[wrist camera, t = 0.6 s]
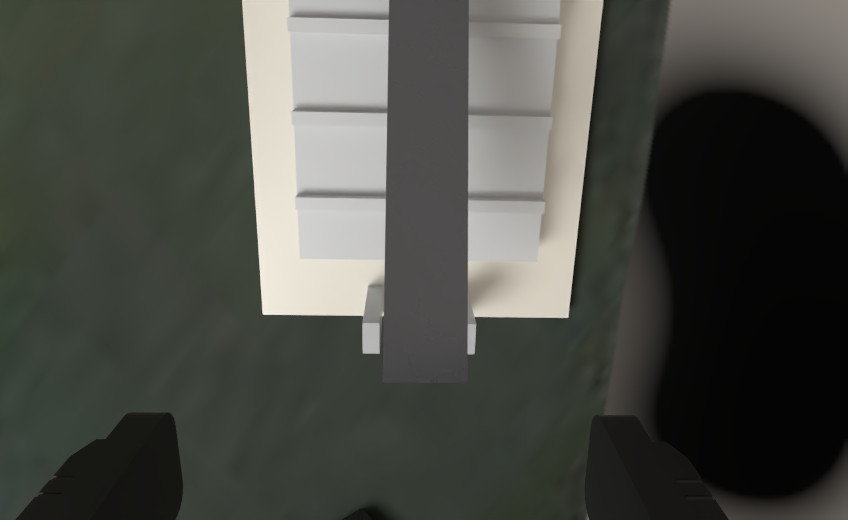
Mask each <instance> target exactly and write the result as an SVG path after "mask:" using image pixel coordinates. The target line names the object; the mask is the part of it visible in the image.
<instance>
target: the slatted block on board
mask: <svg viewBox="0 0 848 520" xmlns="http://www.w3.org/2000/svg"><path fill="white" fill-rule="evenodd" d="M242 5H243V21H244V36H245V51H246V66H247V81H248V97H249V112H250V127H251V142H252V157H253V173H254V188H255V203H256V218H257V233H258V249H259V264H260V279H261V294H262V309H263V315H350V316H364V317H363V353H379V352H380V340H381V327H382V316H384V278H385V217H386V156H387V96H388V35H389V0H242ZM602 8H603V0H469V89H468V354H474V353H475V336H476V322H475V318H474V317H538V318H568V315H569V306H570V297H571V288H572V279H573V270H574V261H575V252H576V243H577V234H578V225H579V216H580V207H581V198H582V189H583V180H584V171H585V162H586V153H587V144H588V135H589V126H590V117H591V107H592V98H593V89H594V80H595V71H596V62H597V53H598V44H599V35H600V26H601V17H602Z"/></svg>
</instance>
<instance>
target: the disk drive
mask: <svg viewBox="0 0 848 520" xmlns="http://www.w3.org/2000/svg"><path fill="white" fill-rule="evenodd" d="M343 520H372V519H371V517H370V516H369V515H368V514H366V512H365V511H364V510H362V509H359V510H358V511H356V512H355V513H353V514H351V515H349V516H348V517H347V518H345V519H343Z"/></svg>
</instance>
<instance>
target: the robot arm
mask: <svg viewBox="0 0 848 520" xmlns="http://www.w3.org/2000/svg"><path fill="white" fill-rule="evenodd" d="M182 494H183V480H182V472H181V464H180V456H179V449H178V441H177V433H176V425H175V421H174V418H173V416H172V414H170V413H128V414H126V415H125V416H124V417H123V418H122V420H121V421H120V422H119V423H118V425H117V426H116V427H115V428H114V430H113V431H112V432H111V433H110V434H109V436H108V437H107V438H106V439H96V440H95V441H93V442H91V443H90V444H88V445H87V446H85V447H84V448H82V449H81V450H79V451H78V452H76V453H75V454H73V455H72V456H70V457H69V458H68V460H67V461H66V462H65V463H64V464H63V465H62V466H61V468H60V469H59V470H58V471H57V472H56V473H55V475H54V476H53V480H49V482H48V483H47V484H46V485H45V486H44V487H43V488H42V490H41V491H40V492H39V496H38V497H35V498H34V499H33V500H32V501H31V502H30V503H29V505H28V506H27V507H26V508H25V509H24V510H23V512H22V513H21V514H20V515H19V516H18V517H17V519H16V520H175V519H176V517H177V515H178V512H179V509H180V506H181V501H182ZM585 501H586V508H587V513H588V517H589V520H728V518H727V517H726V515H725V514H724V512H723V511H722V509H721V508H720V506H719V505H718V503H717V502H716V500H713V498H712V494H711V493H710V491H709V490H708V488H707V487H706V485H705V484H704V483H702V482H701V478H700V476H699V475H698V473H697V472H696V470H695V469H694V467H693V466H692V464H691V463H690V461H689V460H688V459H687V458H686V457H685V456H683V455H682V454H681V453H679V452H678V451H677V450H675V449H674V448H673V447H671V446H670V445H669V444H667V443H666V442H652V441H651V439H650V437H649V436H648V434H647V433H646V431H645V429H644V428H643V426H642V424H641V423H640V421H639V420H638V418H637V417H636V416H634V415H595V416H594V418H593V420H592V424H591V432H590V442H589V451H588V460H587V470H586V479H585Z"/></svg>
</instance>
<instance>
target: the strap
mask: <svg viewBox="0 0 848 520" xmlns="http://www.w3.org/2000/svg"><path fill="white" fill-rule="evenodd" d="M468 89H469V0H389V35H388V96H387V156H386V217H385V278H384V339H383V382H406V383H468Z"/></svg>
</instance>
